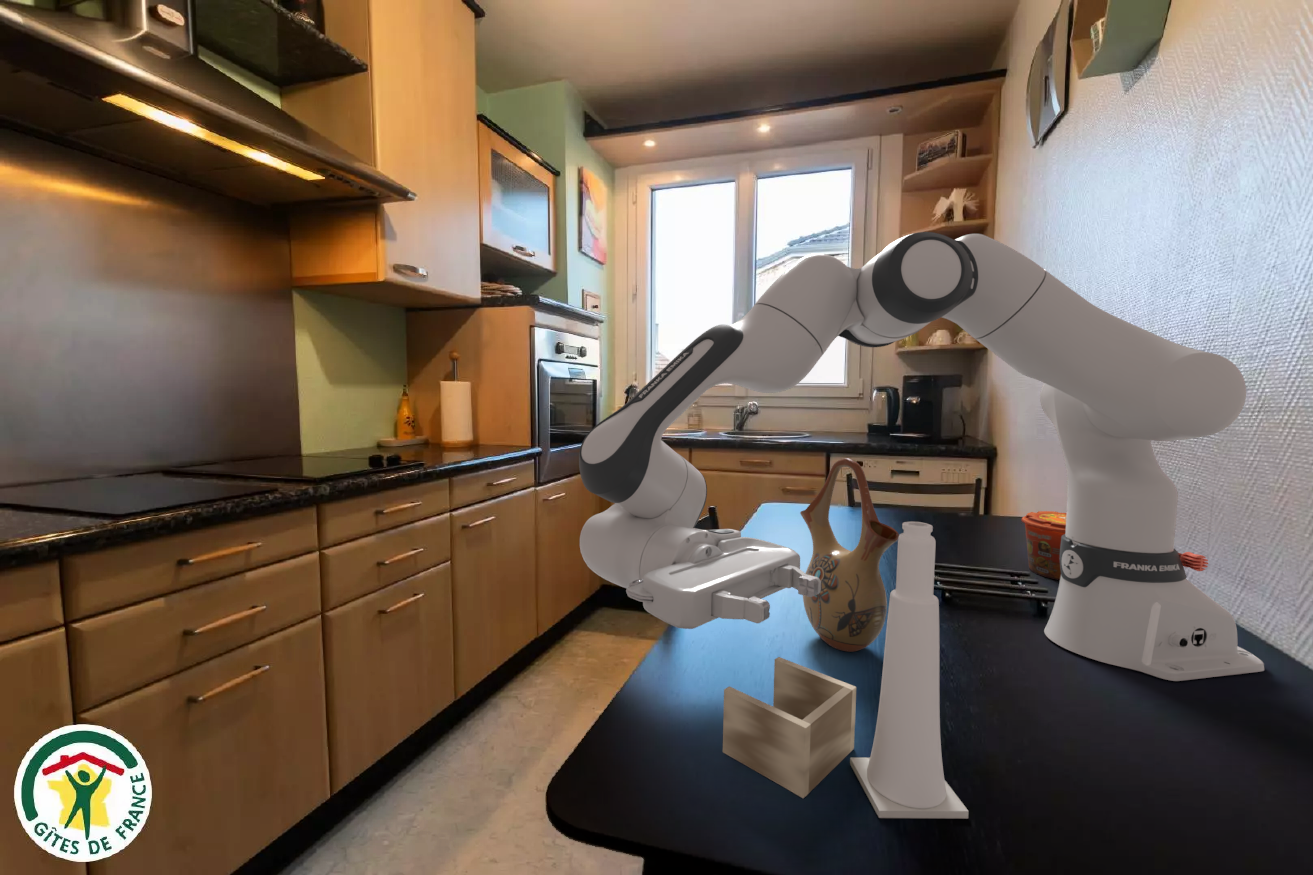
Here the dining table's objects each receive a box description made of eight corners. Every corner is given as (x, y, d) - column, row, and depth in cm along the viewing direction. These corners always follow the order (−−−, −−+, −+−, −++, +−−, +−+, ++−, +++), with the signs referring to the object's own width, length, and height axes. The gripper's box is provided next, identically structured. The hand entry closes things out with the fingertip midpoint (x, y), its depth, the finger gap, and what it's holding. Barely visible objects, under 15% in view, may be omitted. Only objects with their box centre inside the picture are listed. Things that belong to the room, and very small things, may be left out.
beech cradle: (722, 752, 51) (724, 689, 51) (777, 712, 58) (778, 656, 57) (803, 798, 45) (805, 727, 45) (853, 748, 52) (856, 686, 51)
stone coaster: (927, 764, 50) (928, 757, 50) (968, 818, 43) (968, 811, 43) (849, 763, 50) (850, 757, 50) (879, 817, 43) (879, 810, 43)
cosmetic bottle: (960, 790, 46) (974, 526, 44) (920, 821, 42) (934, 537, 41) (893, 751, 51) (903, 513, 49) (851, 776, 47) (861, 521, 46)
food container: (999, 562, 112) (1002, 510, 112) (1071, 561, 114) (1075, 509, 113) (1066, 590, 96) (1070, 529, 96) (1148, 587, 98) (1153, 528, 98)
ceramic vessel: (916, 665, 68) (926, 463, 67) (860, 679, 65) (869, 466, 63) (825, 616, 83) (831, 451, 81) (776, 626, 80) (781, 453, 78)
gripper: (616, 558, 55) (727, 594, 46) (738, 526, 70) (842, 548, 60) (616, 619, 56) (726, 668, 46) (737, 575, 70) (840, 604, 61)
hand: (793, 599), depth 53 cm, fingers open, 8 cm apart
